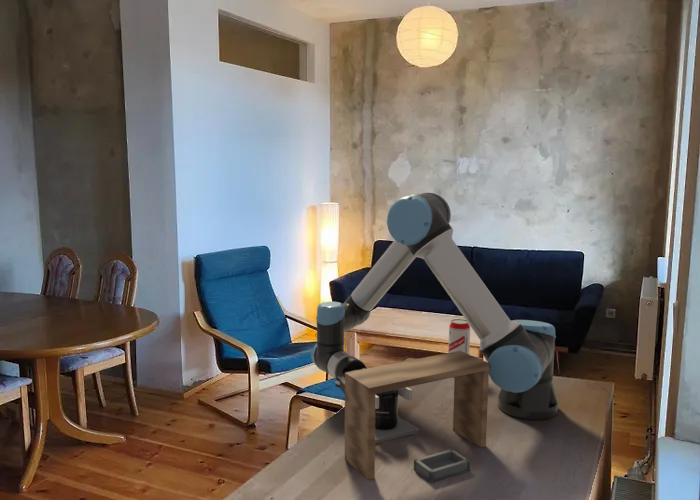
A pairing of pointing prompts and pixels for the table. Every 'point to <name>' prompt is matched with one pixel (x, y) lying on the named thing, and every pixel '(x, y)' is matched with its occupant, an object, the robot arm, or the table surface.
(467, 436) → the bridge
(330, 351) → the robot arm
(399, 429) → the coaster
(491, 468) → the table surface
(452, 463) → the trap tray
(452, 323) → the beer can
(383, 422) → the supplement bottle
